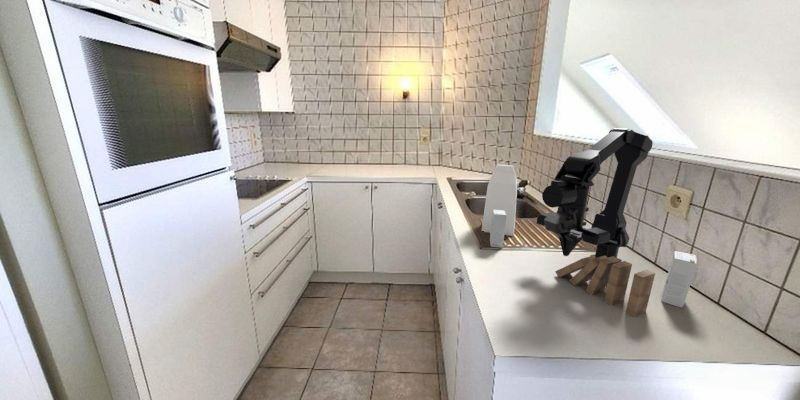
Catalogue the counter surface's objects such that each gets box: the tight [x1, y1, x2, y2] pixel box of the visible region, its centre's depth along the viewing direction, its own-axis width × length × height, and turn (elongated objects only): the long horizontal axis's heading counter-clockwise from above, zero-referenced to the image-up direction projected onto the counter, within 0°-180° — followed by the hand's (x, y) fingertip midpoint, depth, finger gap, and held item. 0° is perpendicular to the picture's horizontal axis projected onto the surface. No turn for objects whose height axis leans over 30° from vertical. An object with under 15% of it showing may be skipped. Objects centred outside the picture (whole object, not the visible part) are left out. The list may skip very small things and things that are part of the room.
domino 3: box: [585, 256, 620, 296], centre depth 81 cm, size 5×2×10 cm, turn 115°
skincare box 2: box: [660, 250, 698, 308], centre depth 78 cm, size 6×4×12 cm
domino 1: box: [554, 254, 596, 278], centre depth 87 cm, size 5×2×10 cm
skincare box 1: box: [489, 210, 507, 248], centre depth 111 cm, size 6×4×12 cm
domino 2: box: [569, 255, 607, 286], centre depth 84 cm, size 5×2×10 cm
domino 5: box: [625, 269, 656, 318], centre depth 73 cm, size 5×2×10 cm, turn 117°
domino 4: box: [603, 260, 633, 306], centre depth 77 cm, size 5×2×10 cm, turn 116°
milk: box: [481, 164, 518, 237], centre depth 125 cm, size 12×12×26 cm
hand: (565, 255), depth 90 cm, fingers closed
